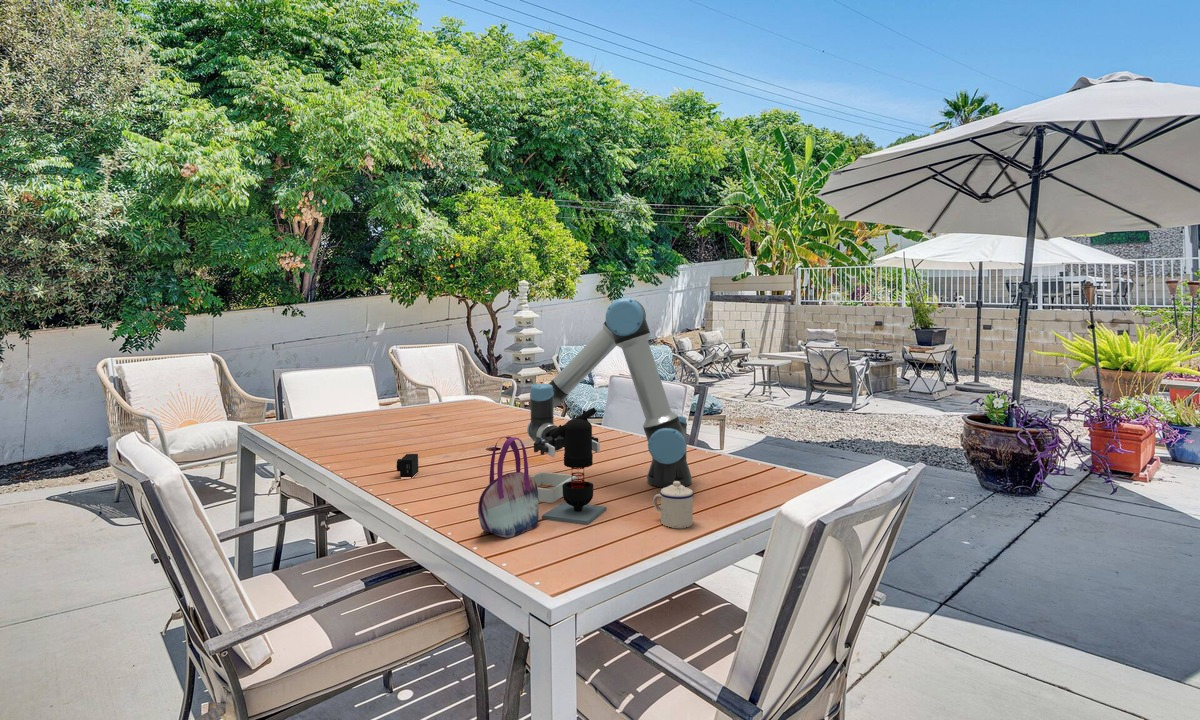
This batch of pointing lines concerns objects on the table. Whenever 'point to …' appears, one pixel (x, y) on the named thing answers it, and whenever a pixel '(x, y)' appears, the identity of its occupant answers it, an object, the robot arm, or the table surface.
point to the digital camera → (408, 465)
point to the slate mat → (574, 513)
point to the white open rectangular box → (553, 480)
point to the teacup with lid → (675, 506)
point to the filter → (577, 457)
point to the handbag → (509, 497)
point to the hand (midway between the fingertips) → (576, 450)
